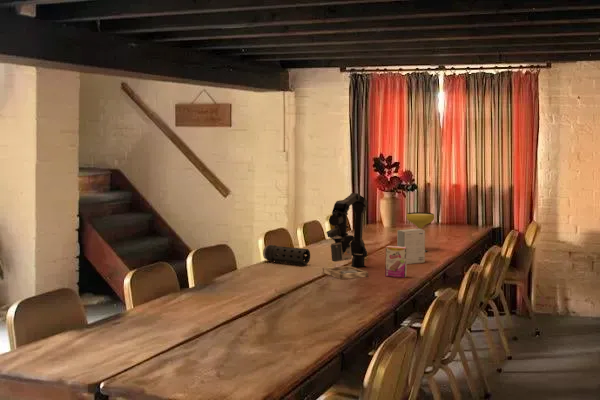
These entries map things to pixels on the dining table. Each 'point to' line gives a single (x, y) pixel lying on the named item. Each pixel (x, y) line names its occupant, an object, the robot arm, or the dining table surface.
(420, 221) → the cocktail glass
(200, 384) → the dining table surface
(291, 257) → the muzzle brake
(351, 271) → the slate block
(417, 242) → the hard drive box
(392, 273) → the candy bar box
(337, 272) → the slot rack
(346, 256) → the camera
